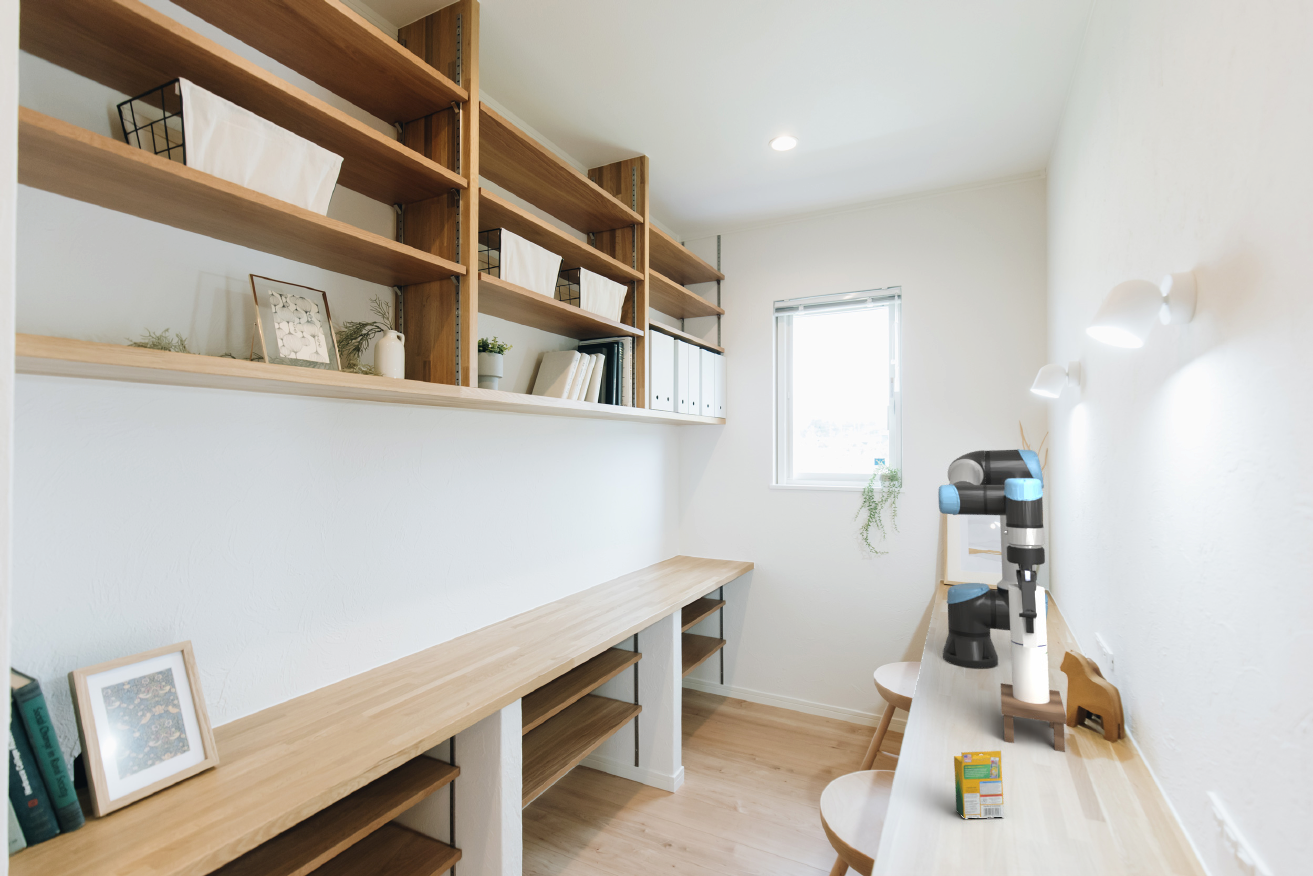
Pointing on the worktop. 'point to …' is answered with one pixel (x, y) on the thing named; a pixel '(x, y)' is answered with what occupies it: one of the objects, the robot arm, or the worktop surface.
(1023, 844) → the worktop surface
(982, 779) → the crayon box
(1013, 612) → the cylindrical container
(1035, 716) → the brown flat-topped stand
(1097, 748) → the worktop surface
